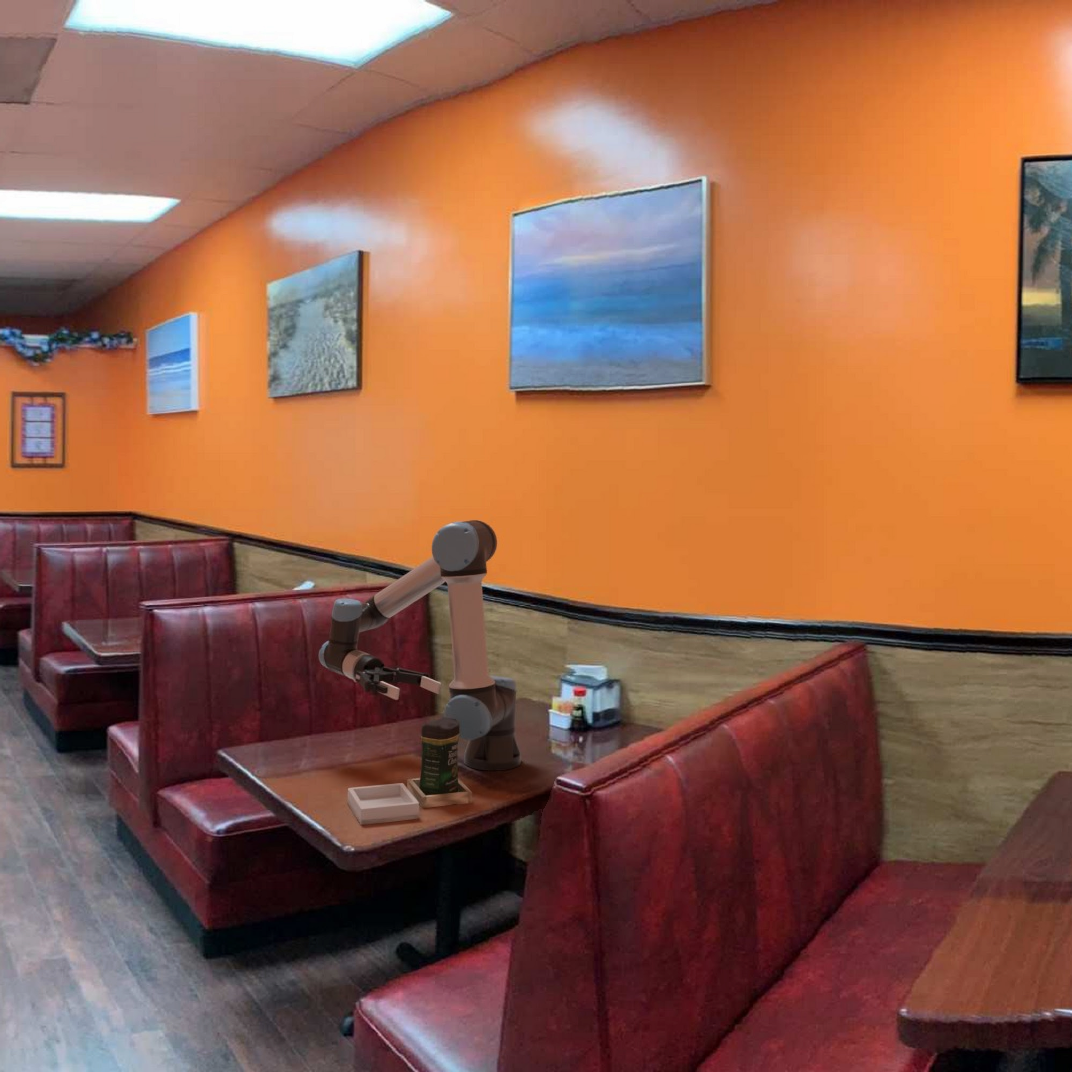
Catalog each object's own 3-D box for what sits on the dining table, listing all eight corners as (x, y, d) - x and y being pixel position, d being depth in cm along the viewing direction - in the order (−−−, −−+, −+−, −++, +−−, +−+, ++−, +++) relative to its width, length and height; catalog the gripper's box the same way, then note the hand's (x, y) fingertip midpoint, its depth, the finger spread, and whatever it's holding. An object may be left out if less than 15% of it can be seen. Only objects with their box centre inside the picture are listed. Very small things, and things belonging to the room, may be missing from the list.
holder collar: (454, 784, 250) (454, 774, 250) (472, 802, 237) (472, 792, 237) (407, 789, 246) (407, 779, 246) (422, 808, 233) (422, 797, 233)
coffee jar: (442, 804, 235) (444, 726, 234) (414, 799, 239) (415, 721, 238) (463, 793, 244) (465, 717, 243) (435, 787, 248) (437, 712, 246)
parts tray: (402, 797, 240) (402, 783, 240) (418, 818, 226) (419, 803, 226) (347, 802, 235) (347, 788, 235) (360, 824, 221) (361, 809, 221)
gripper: (399, 678, 271) (454, 700, 257) (322, 687, 252) (377, 712, 238) (403, 650, 270) (457, 671, 256) (326, 658, 251) (381, 681, 237)
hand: (419, 691), depth 247 cm, fingers open, 13 cm apart
